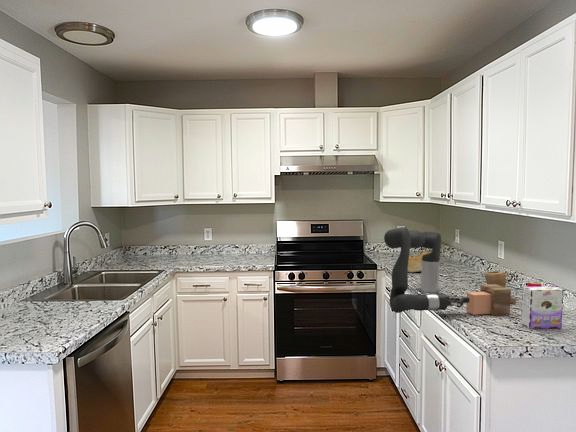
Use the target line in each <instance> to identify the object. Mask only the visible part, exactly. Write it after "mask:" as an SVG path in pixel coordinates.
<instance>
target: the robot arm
mask: <svg viewBox="0 0 576 432" xmlns="http://www.w3.org/2000/svg"><path fill="white" fill-rule="evenodd" d="M383 240H384V242H385V245H386V246H387V247H388V248H390V249H399V248H400V253H399V255H398V258H397V259H396V262H395V263H394V265H393V268H392V270H391V290H390V295H389V306H390V309H391V310H392V311H393V312H394V313H396V314H400V313H403V312H405V311H410V310H413V311H420V312H421V311H422V312H423V311H444V310H446V309H447V308H448V307H455V306H456V307H457V308H459V309H460V308H461V307H462V306H464V304H466V303H469V298H467V296H466V297H465V296H464V297H460V296H456V295H451V294H450V295H449V294H445V293H444V292H439V281H440V279H439V278H440V257H441V245H442V235H441V233H439V232H433V231H431V232H430V231H422V232H421V231H419V230H412V229H411V230H409V229H408V228H407V227H403V226H401V227H396V228H392V229H389V230H387V231H386V232H385V233H384V236H383ZM419 248H423V249H432V250H431V253H429V254H425V255H423V256H422V271H421V273H420V288H419V289H420V291H421V292H423V294H412V293H406V291H407V290H408V288H409V281H408V280H409V276H408V275H409V272H408V261H409V254H411V252H410V250H411V249H419ZM424 292H425V294H424Z"/></svg>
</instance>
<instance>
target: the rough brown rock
mask: <svg viewBox="0 0 576 432" xmlns="http://www.w3.org/2000/svg"><path fill="white" fill-rule="evenodd" d="M431 252H432V250H431V251H430V250H424V251H422V252H420V254H416V255H412V254H411V253H409V261H408V273H416V272H419V273H420V272H422V256H423V255H425V254H429V253H431Z"/></svg>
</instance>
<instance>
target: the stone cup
mask: <svg viewBox="0 0 576 432" xmlns="http://www.w3.org/2000/svg"><path fill="white" fill-rule="evenodd" d="M484 279H485V282H486V284H497V285H500V286H503V287H506V285H507V275H506V272H505V271H502V270H501V271H500V270H493V271H491V270H490V271H486V272H485V274H484ZM517 301H518V300H517V299H516V298H514V297H512V296H511V301H510V304H511V303H512V304H513V303H515V302H517Z"/></svg>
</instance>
